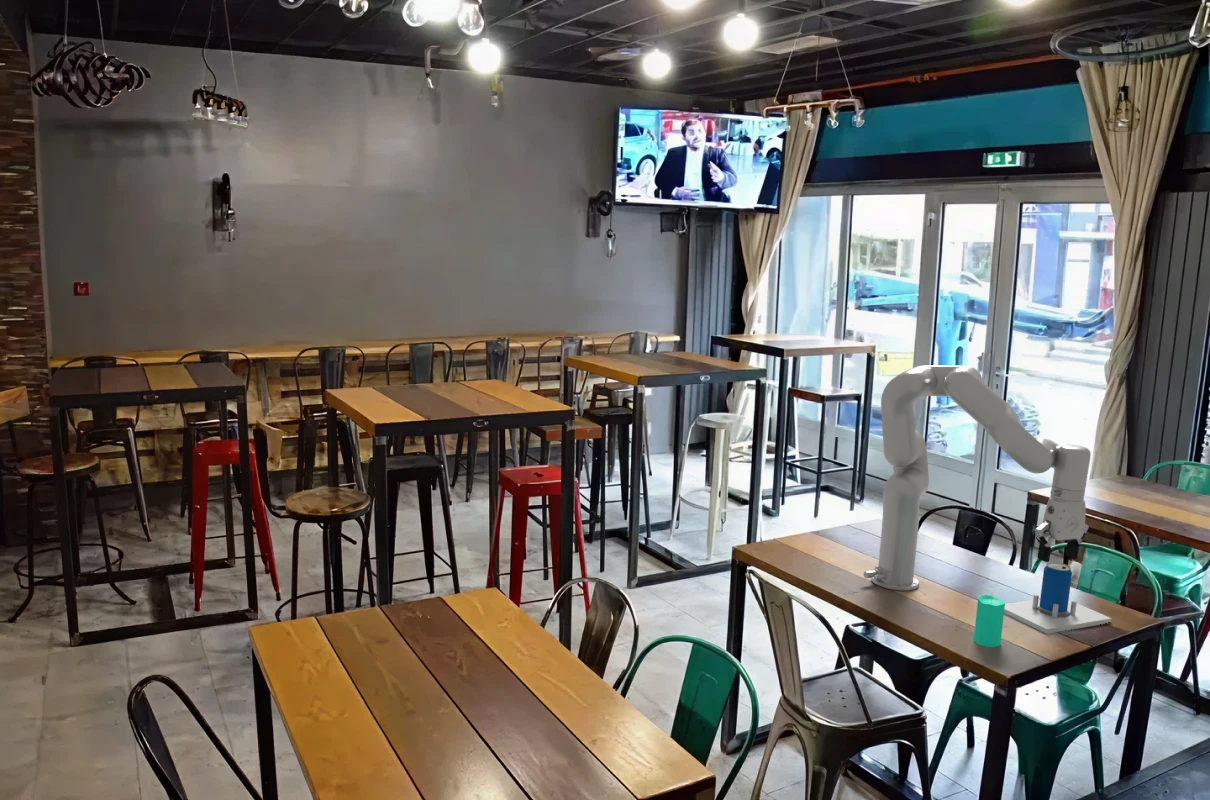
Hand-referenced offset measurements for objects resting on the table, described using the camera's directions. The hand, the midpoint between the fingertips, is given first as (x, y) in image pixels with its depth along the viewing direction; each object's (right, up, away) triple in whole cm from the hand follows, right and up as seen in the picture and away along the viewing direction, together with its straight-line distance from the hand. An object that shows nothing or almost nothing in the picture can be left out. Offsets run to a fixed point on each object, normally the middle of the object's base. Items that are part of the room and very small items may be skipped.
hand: (1057, 558), depth 239 cm
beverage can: (0, -14, +2) cm, 14 cm away
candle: (-24, -17, -15) cm, 33 cm away
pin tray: (0, -15, +2) cm, 15 cm away
